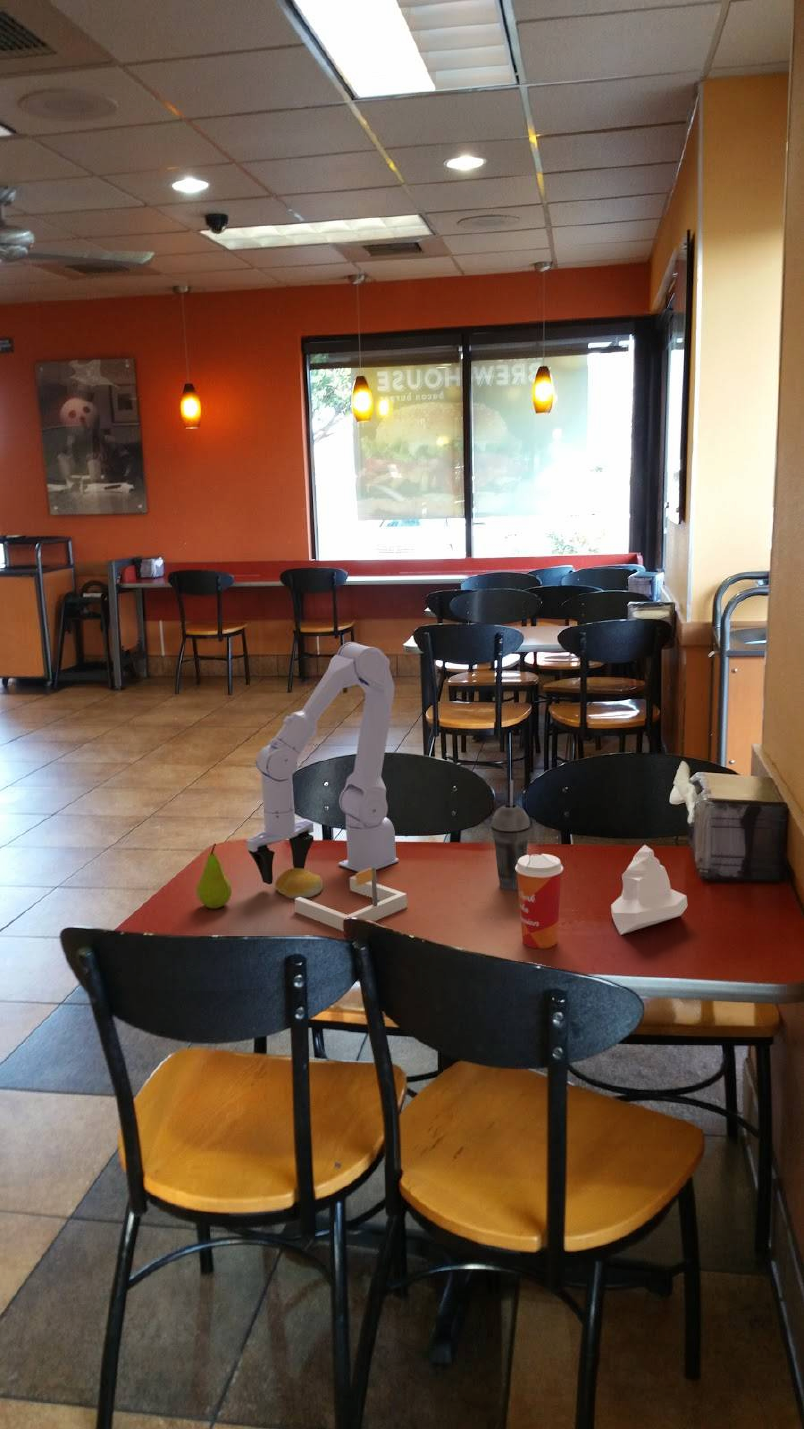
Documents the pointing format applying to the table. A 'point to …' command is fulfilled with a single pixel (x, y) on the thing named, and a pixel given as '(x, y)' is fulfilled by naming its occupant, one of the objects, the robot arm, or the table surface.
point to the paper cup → (539, 899)
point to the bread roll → (299, 883)
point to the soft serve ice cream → (646, 895)
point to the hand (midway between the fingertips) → (283, 876)
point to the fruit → (213, 884)
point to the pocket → (362, 885)
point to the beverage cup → (510, 841)
